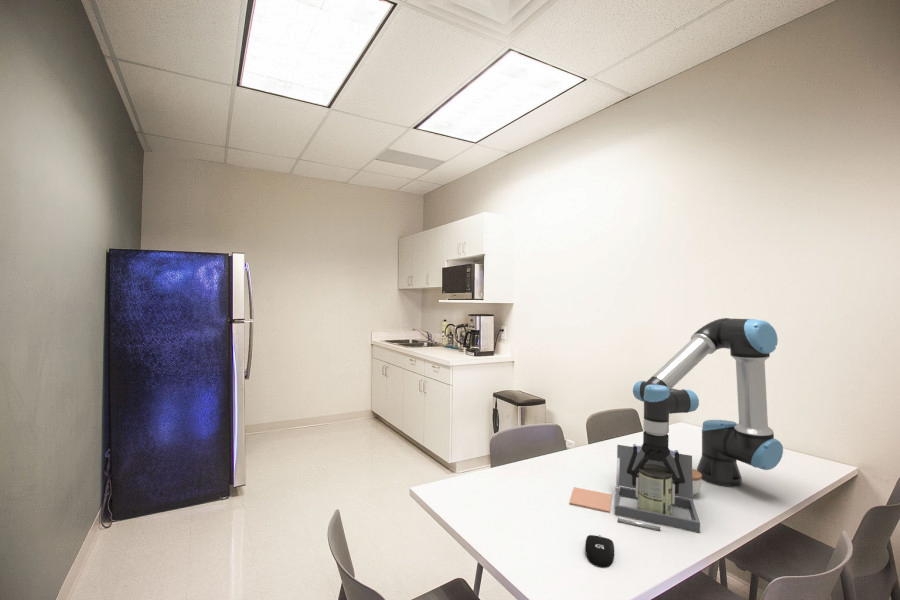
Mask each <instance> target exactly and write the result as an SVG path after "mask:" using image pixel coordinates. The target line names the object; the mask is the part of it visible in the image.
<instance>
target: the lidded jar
mask: <svg viewBox="0 0 900 600" xmlns="http://www.w3.org/2000/svg"><path fill="white" fill-rule="evenodd" d="M701 478H702V474H701V473H700V472H698V471H697V469H694V468H692V480H693V496H694V495H695V494H698V492H699V491H700V489H701V486H702V479H701Z"/></svg>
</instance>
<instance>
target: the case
mask: <svg viewBox="0 0 900 600" xmlns="http://www.w3.org/2000/svg"><path fill="white" fill-rule="evenodd" d="M616 448H617V449H616V451H617V452H616V453H617V454H616V457H617V458H616V480H615V481H616V483H615V484H616V485H615V486H614V491H615V502H614V515H615V516H618V517H624V518H629V519H634V520H638V521H643V522H647V523H652V524H656V525H660V526H661V525H662V526H666V527H671V528H676V529H680V530H683V531H684V530H685V531H689V532H695V533H698V534H700V533H701V522H700V518H699V514H698V513H697V509H696V507H695V506H696V505H695V504H694V497H693V480H692V469H693V455H690V454H683V453H679V462H680V466H681V469H682V472H683V475H684V479H685V483H680V484H679V493H678V494H676V493H675V505H674V504H672V507H675V508H679V509H685V510H688V511H689V512H690V515H691V519H689V518H685V517H679V516H675V515H672V516H671V515H666V514H661V513H656V512H651V511H646V510H641V509H638V508H637V507H636V508H635V507H630V506H625V505H620V497H623V498H628V499H633V500H638V497H636V486H633V485H632V475H630V474H628V473H627V467H628V464H629V461H630V459H631V456H632V453H633V446H628V445H622V444H617V447H616ZM644 455H645V453H644V452H643V451H642V450H640V452H637V456H636V459H635V462H634V465H633V467H632V470H634V469H635V467H636V466H637V465H638V463H639V462H640V461H641V459H642V458H643V456H644ZM666 459H667V461H668V463H669V464H670V466H671V468H672V470H673V471H674V473H675V475H676V477H677V478H680V476H679V473H678V469H677V466H676V463H675V459H674V458H673V457H672V455H671V454H669V455H668V456H667V457H666ZM646 464H656V465H660V466H663V467H665V465H664V463H663V462H662V461H661V462H658V461H656V460H655V461H652V460H650V459H649V460H648V461H647V462H646ZM637 475H638V474H637ZM672 481H674V480H673V479H672Z"/></svg>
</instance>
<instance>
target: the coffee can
mask: <svg viewBox="0 0 900 600" xmlns="http://www.w3.org/2000/svg"><path fill="white" fill-rule="evenodd" d="M638 477H639V483H638V499H637V509H641V510H646V511H651V512H656V513H661V514H666V515H671V516H673V514H672V513H673V510H672V507H673V506H672V474H671V473H669V472H668V470H667V468H666V467H663V466H660V465H656V464H645V465H644V466H643V468H642V469H640V468H639V473H638Z"/></svg>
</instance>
